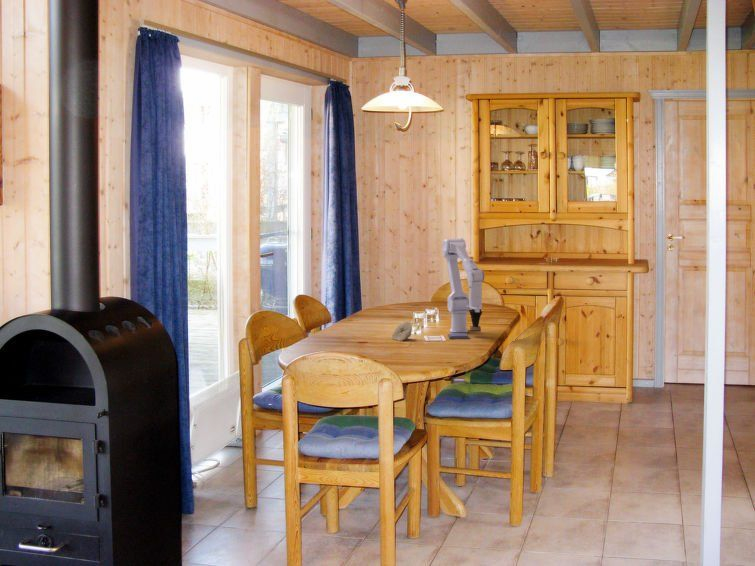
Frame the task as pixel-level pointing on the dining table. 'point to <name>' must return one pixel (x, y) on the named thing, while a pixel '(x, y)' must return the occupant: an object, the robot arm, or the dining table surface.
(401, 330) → the stone
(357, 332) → the dining table surface
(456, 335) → the ink pad
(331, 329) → the dining table surface
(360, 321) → the dining table surface
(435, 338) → the sheet
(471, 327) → the stamp
